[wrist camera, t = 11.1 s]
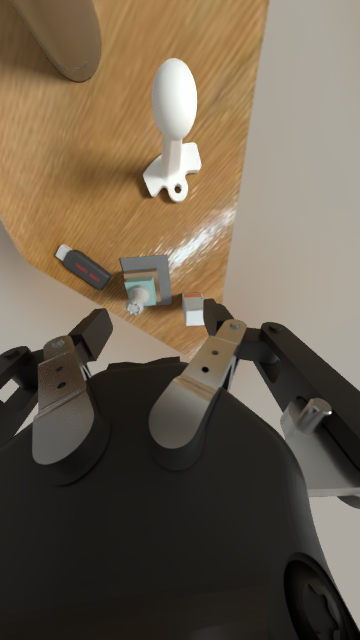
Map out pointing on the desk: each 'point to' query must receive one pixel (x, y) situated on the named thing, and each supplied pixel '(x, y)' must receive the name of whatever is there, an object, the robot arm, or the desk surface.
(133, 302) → the rook chess piece
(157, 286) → the walnut block
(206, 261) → the desk surface
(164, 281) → the mat
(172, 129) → the white ball-topped post
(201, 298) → the skincare box
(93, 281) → the usb drive
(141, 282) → the teal block
